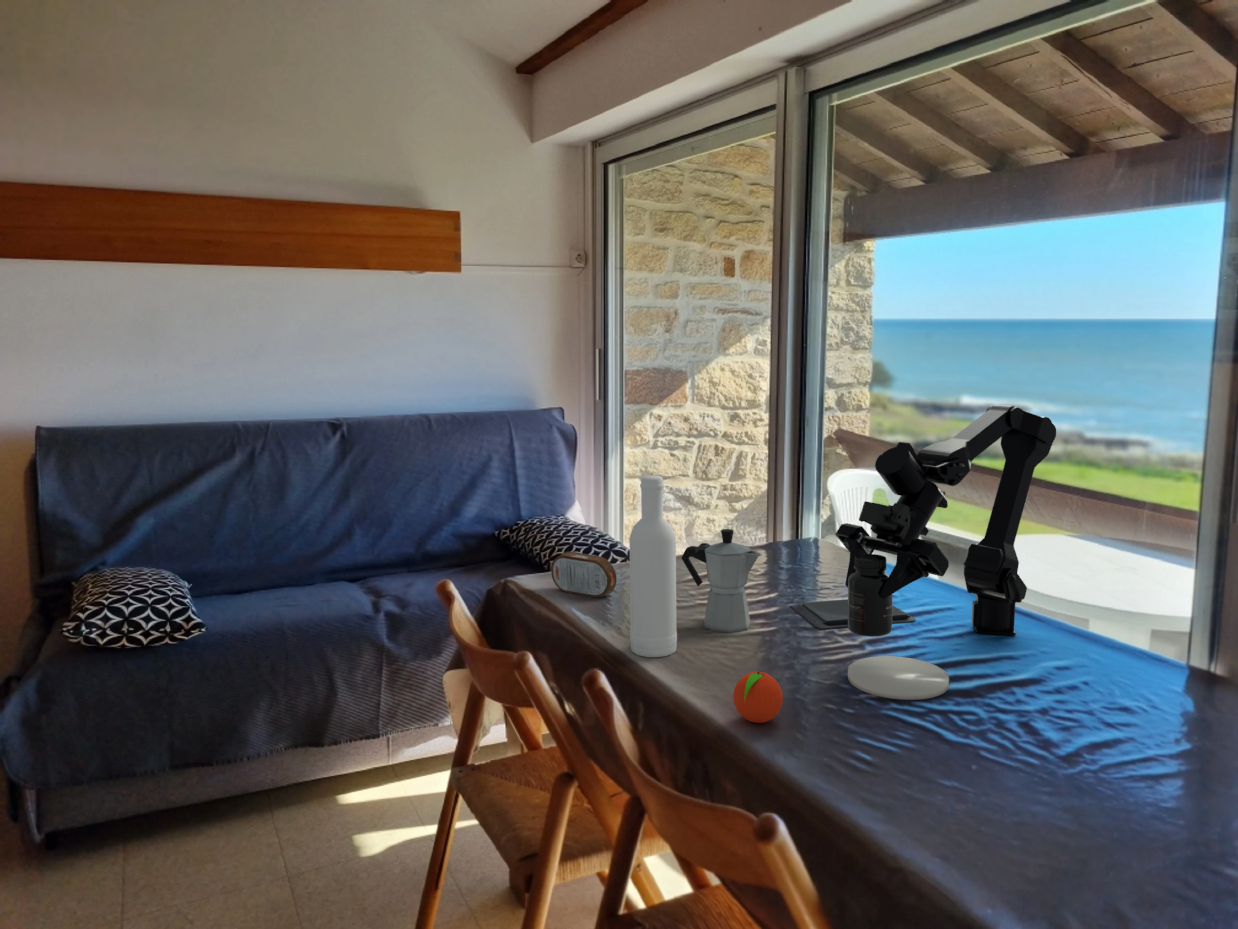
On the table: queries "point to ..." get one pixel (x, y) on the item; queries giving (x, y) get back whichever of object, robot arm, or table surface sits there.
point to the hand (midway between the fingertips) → (864, 591)
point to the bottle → (653, 576)
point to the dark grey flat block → (838, 614)
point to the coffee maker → (724, 581)
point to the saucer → (898, 677)
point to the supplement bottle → (869, 597)
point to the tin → (583, 574)
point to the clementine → (758, 697)
